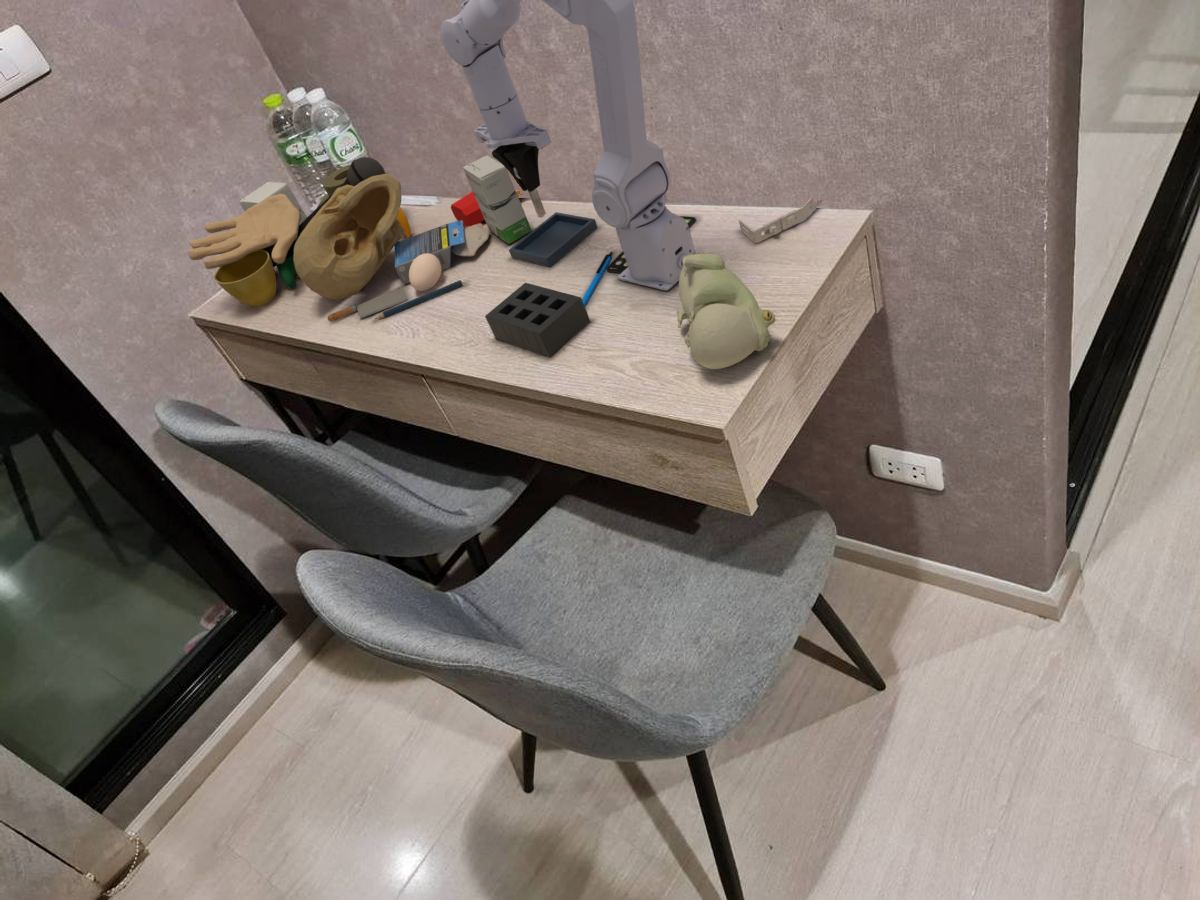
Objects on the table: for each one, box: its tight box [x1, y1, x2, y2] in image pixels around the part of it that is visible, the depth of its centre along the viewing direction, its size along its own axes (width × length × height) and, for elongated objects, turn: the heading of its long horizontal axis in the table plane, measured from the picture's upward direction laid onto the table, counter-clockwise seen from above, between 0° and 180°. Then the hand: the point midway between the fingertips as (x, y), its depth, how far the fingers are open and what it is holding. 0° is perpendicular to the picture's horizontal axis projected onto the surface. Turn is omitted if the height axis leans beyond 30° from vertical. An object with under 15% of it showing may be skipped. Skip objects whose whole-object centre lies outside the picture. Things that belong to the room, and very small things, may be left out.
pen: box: [581, 251, 614, 307], centre depth 121 cm, size 1×19×1 cm, turn 160°
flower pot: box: [214, 250, 277, 308], centre depth 152 cm, size 10×10×7 cm
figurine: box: [676, 253, 777, 370], centre depth 101 cm, size 10×16×10 cm
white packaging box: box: [238, 181, 308, 225], centre depth 162 cm, size 7×7×13 cm
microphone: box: [298, 156, 386, 236], centre depth 150 cm, size 7×7×20 cm
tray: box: [508, 211, 598, 268], centre depth 135 cm, size 9×11×2 cm
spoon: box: [514, 167, 547, 219], centre depth 128 cm, size 1×3×10 cm, turn 137°
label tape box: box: [394, 220, 465, 286], centre depth 142 cm, size 9×4×12 cm
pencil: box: [374, 279, 464, 320], centre depth 134 cm, size 1×1×15 cm
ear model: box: [293, 173, 403, 300], centre depth 140 cm, size 13×20×20 cm
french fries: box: [450, 190, 524, 228], centre depth 150 cm, size 8×4×12 cm
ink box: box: [462, 154, 533, 245], centre depth 139 cm, size 9×5×12 cm, turn 29°
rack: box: [484, 282, 591, 358], centre depth 116 cm, size 12×8×4 cm
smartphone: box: [605, 215, 697, 275], centre depth 125 cm, size 7×1×15 cm
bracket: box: [738, 197, 823, 244], centre depth 118 cm, size 2×6×15 cm
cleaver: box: [327, 285, 409, 323], centre depth 138 cm, size 13×1×5 cm
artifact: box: [450, 223, 490, 257], centre depth 142 cm, size 7×3×10 cm
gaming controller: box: [276, 254, 300, 289], centre depth 155 cm, size 9×4×6 cm
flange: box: [317, 163, 390, 208], centre depth 155 cm, size 5×15×15 cm
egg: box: [409, 253, 442, 292], centre depth 136 cm, size 5×5×7 cm
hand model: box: [187, 194, 301, 270], centre depth 149 cm, size 19×5×20 cm
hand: (531, 187), depth 128 cm, fingers closed on spoon, 1 cm apart
